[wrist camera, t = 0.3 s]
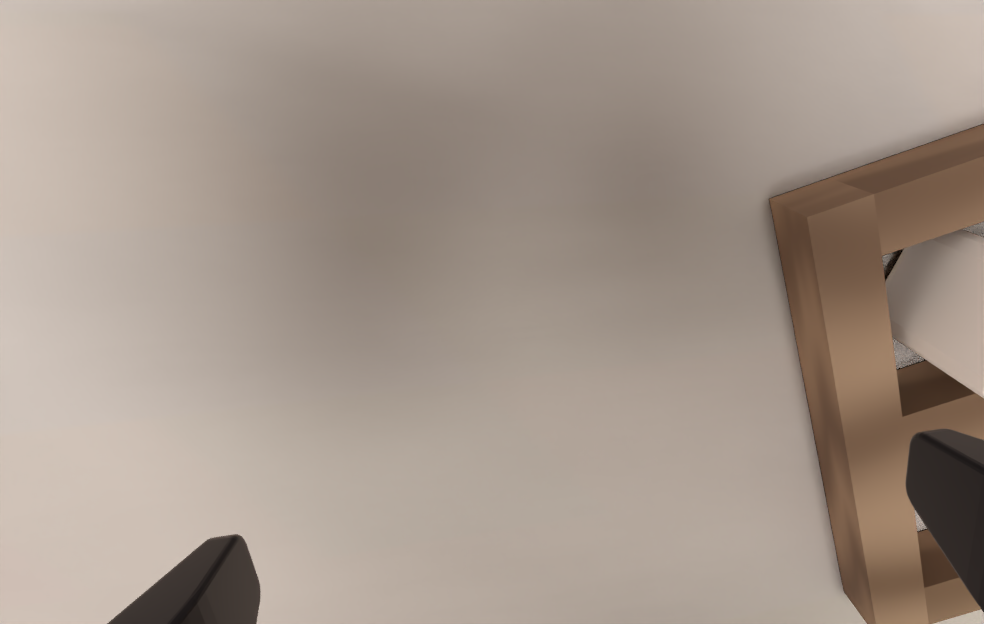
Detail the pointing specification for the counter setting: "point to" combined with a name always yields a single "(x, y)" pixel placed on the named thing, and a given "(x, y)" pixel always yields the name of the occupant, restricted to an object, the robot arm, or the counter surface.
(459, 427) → the counter surface
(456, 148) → the counter surface
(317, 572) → the counter surface
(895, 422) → the wooden compartment tray
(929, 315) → the pepper shaker
